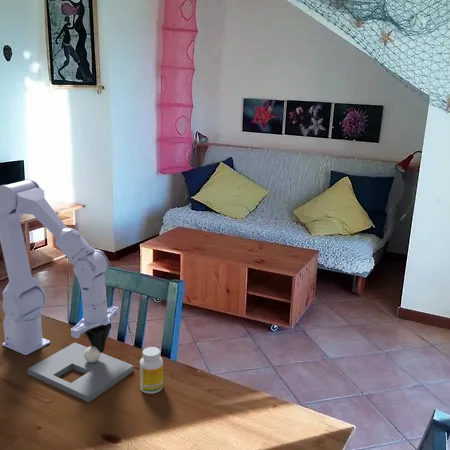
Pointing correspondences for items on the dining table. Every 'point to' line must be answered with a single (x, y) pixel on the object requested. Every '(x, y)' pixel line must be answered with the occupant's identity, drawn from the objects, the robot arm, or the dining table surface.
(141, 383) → the supplement bottle
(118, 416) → the dining table surface
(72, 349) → the plate
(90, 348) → the ball
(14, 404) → the dining table surface
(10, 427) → the dining table surface
